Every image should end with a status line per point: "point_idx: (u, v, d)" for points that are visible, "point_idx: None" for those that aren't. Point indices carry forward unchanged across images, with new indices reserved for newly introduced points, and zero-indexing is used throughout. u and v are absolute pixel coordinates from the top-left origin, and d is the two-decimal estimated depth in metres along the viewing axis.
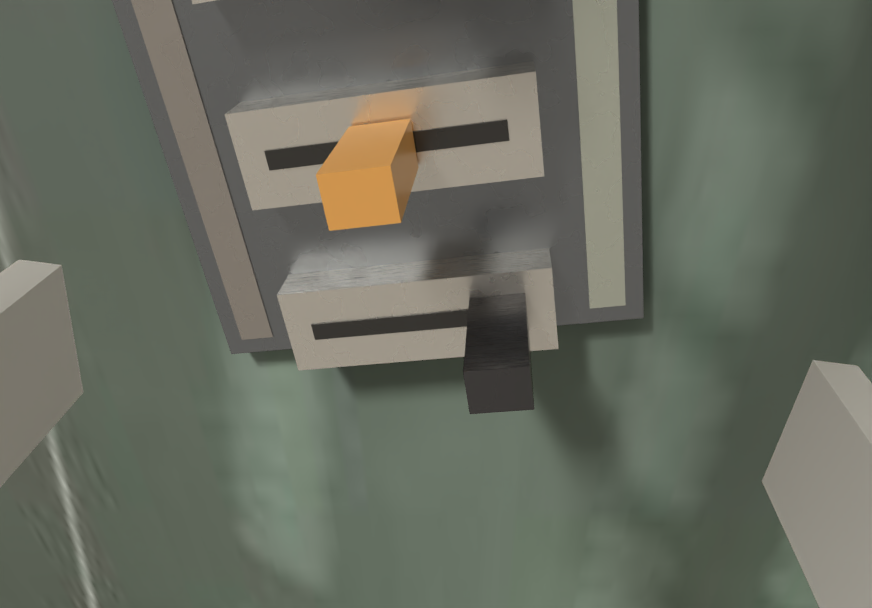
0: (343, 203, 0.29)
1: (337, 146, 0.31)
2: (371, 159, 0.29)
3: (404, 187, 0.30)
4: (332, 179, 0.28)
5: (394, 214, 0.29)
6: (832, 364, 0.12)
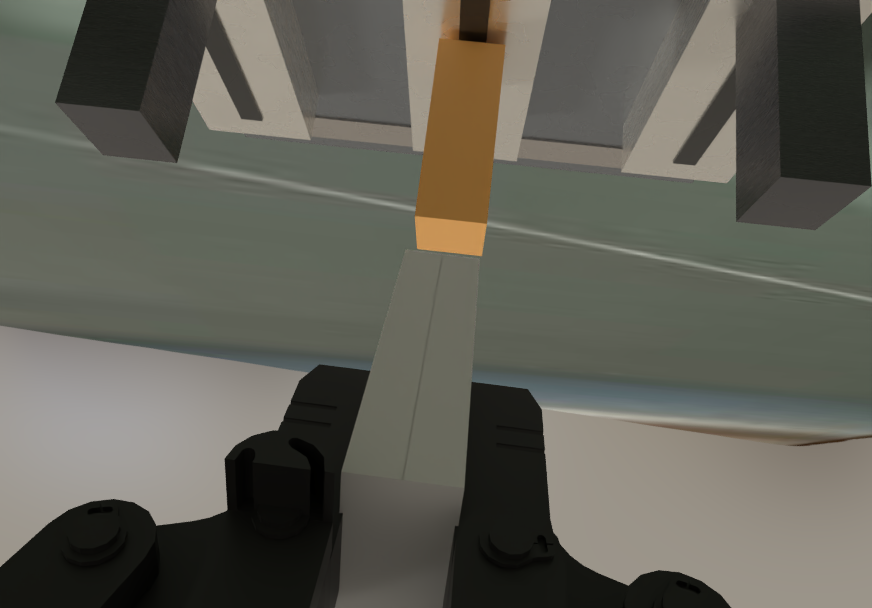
0: (452, 244, 0.26)
1: None
2: None
3: (472, 161, 0.24)
4: (423, 243, 0.26)
5: (474, 224, 0.24)
6: (458, 256, 0.14)
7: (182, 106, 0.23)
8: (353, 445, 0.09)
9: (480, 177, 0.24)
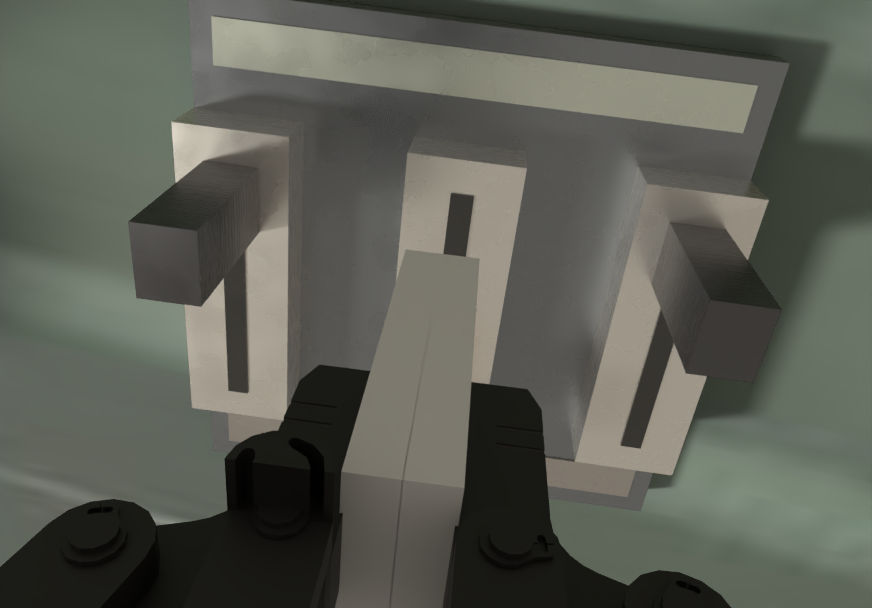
0: None
1: None
2: None
3: None
4: None
5: None
6: (457, 256, 0.14)
7: (217, 272, 0.27)
8: (353, 445, 0.09)
9: None
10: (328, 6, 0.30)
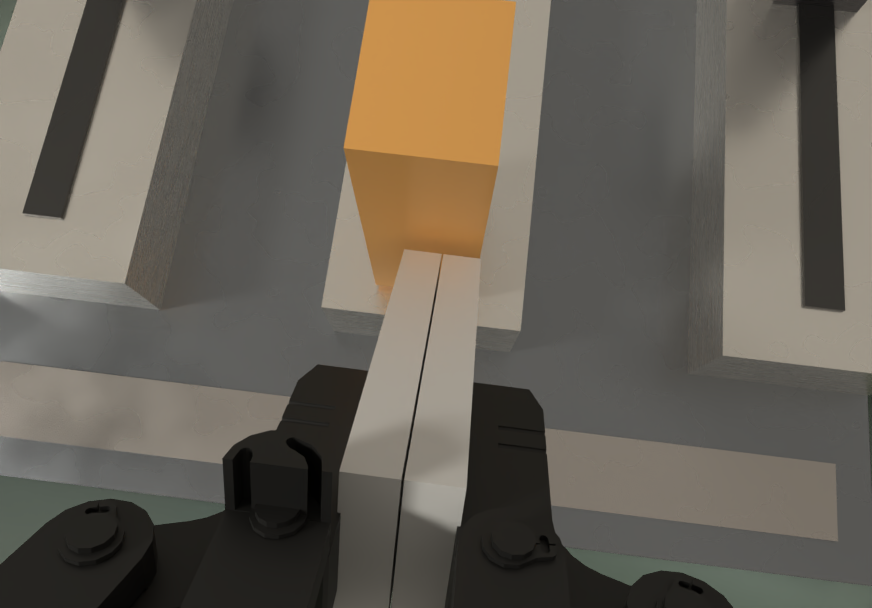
0: (434, 108, 0.11)
1: None
2: None
3: None
4: (365, 114, 0.11)
5: (490, 9, 0.12)
6: (459, 256, 0.14)
7: None
8: (351, 444, 0.09)
9: None
10: None
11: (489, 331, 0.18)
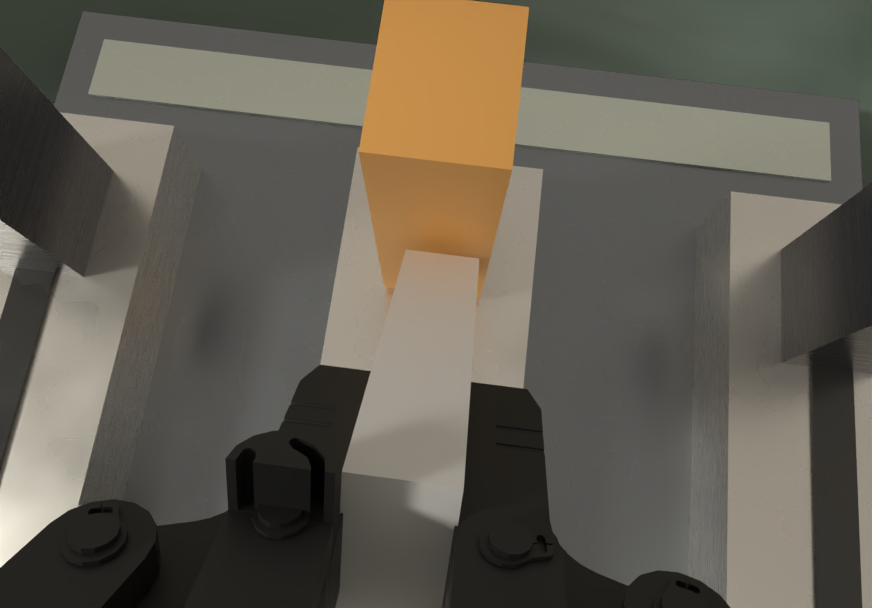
0: (449, 113, 0.11)
1: None
2: None
3: None
4: (380, 118, 0.11)
5: (503, 15, 0.12)
6: (457, 257, 0.14)
7: None
8: (353, 445, 0.09)
9: None
10: (263, 33, 0.23)
11: None
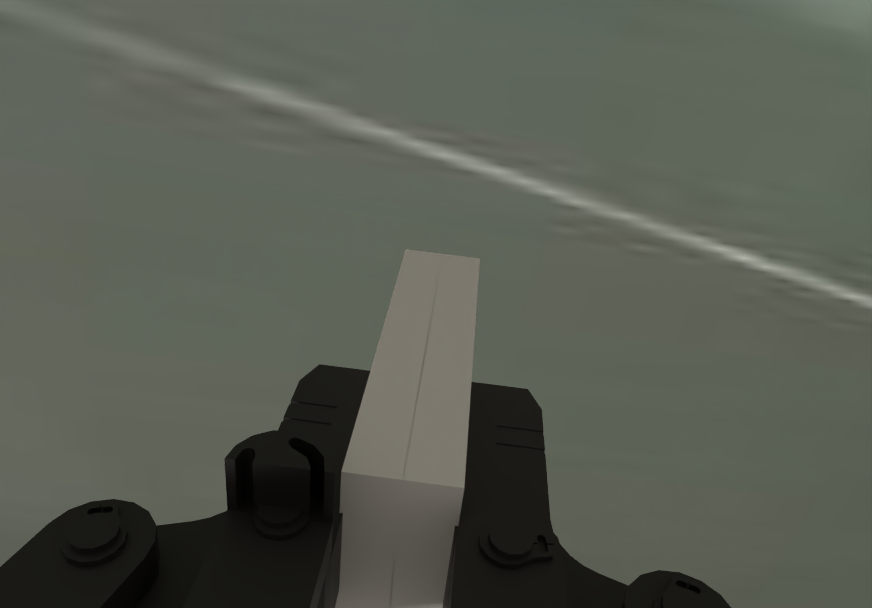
0: None
1: None
2: None
3: None
4: None
5: None
6: (457, 256, 0.14)
7: None
8: (353, 444, 0.09)
9: None
10: None
11: None
